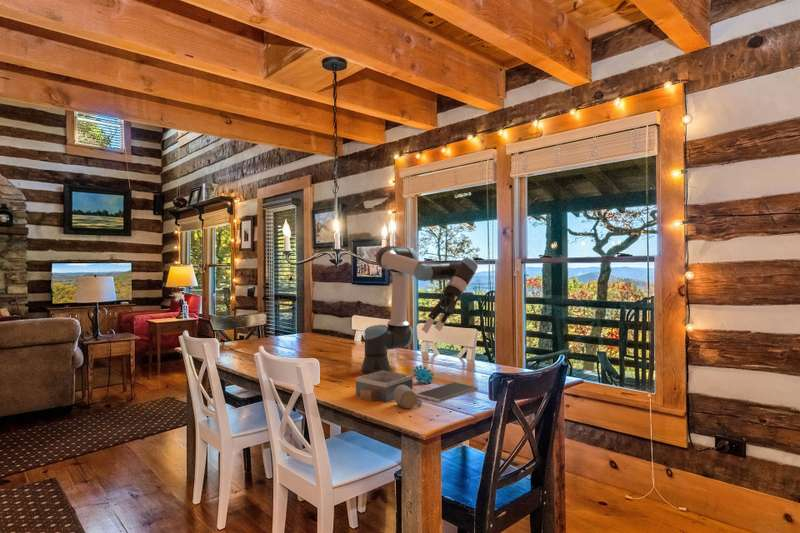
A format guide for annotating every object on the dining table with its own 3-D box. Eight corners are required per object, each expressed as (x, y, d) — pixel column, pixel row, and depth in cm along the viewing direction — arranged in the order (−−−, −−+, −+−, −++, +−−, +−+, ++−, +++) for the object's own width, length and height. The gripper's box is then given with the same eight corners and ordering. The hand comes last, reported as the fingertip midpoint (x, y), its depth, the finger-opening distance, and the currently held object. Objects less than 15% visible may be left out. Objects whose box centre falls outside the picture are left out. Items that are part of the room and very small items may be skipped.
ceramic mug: (400, 410, 177) (400, 390, 177) (392, 404, 185) (392, 385, 185) (425, 407, 182) (426, 387, 182) (416, 401, 189) (416, 382, 189)
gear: (417, 382, 213) (412, 363, 219) (412, 389, 216) (406, 371, 223) (438, 383, 218) (432, 364, 224) (432, 390, 221) (427, 371, 228)
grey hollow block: (350, 396, 197) (350, 378, 197) (382, 386, 212) (382, 370, 212) (381, 404, 186) (381, 385, 186) (412, 393, 201) (412, 375, 201)
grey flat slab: (414, 397, 197) (414, 393, 197) (454, 385, 216) (454, 381, 216) (438, 404, 187) (438, 400, 187) (478, 390, 206) (478, 386, 206)
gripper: (475, 290, 192) (450, 333, 184) (449, 298, 215) (425, 337, 207) (461, 279, 191) (435, 322, 183) (436, 288, 214) (412, 327, 206)
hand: (430, 330), depth 195 cm, fingers open, 13 cm apart
